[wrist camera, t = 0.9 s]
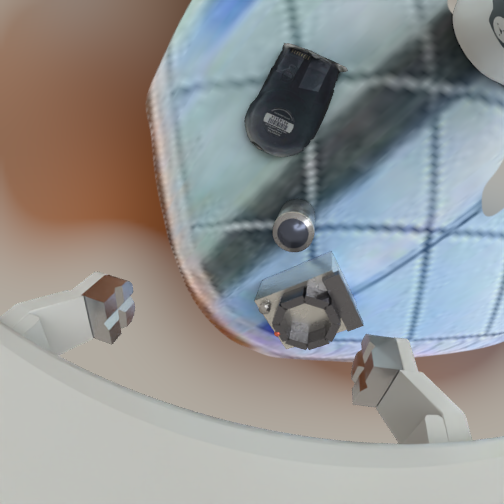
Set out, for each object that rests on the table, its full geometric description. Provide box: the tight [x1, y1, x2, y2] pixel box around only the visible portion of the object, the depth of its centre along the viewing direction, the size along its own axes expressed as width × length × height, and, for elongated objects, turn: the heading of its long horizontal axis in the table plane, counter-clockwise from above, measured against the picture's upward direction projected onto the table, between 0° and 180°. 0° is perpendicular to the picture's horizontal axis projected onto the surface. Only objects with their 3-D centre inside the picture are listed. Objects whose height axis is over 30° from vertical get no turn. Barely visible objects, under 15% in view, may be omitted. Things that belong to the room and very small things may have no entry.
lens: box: [273, 198, 315, 252], centre depth 40 cm, size 5×5×7 cm
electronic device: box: [245, 43, 347, 157], centre depth 35 cm, size 9×6×15 cm
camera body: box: [254, 251, 363, 350], centre depth 44 cm, size 13×10×9 cm
